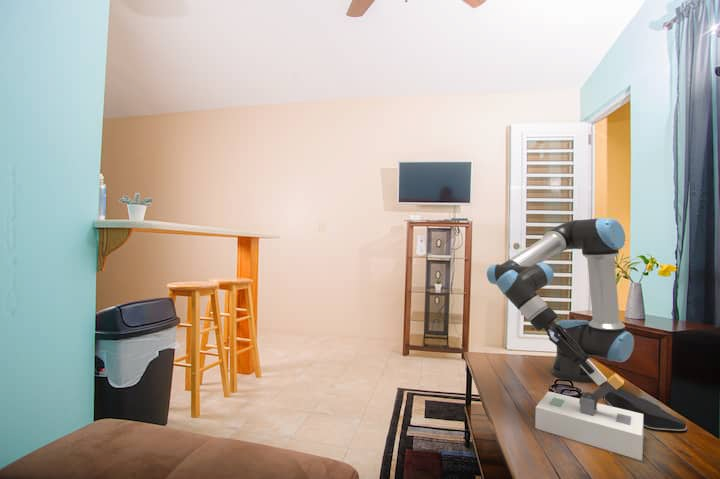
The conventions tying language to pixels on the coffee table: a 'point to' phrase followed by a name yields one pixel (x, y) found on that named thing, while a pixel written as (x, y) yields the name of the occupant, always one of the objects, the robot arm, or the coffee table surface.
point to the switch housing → (592, 423)
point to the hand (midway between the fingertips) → (602, 382)
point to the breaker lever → (604, 389)
